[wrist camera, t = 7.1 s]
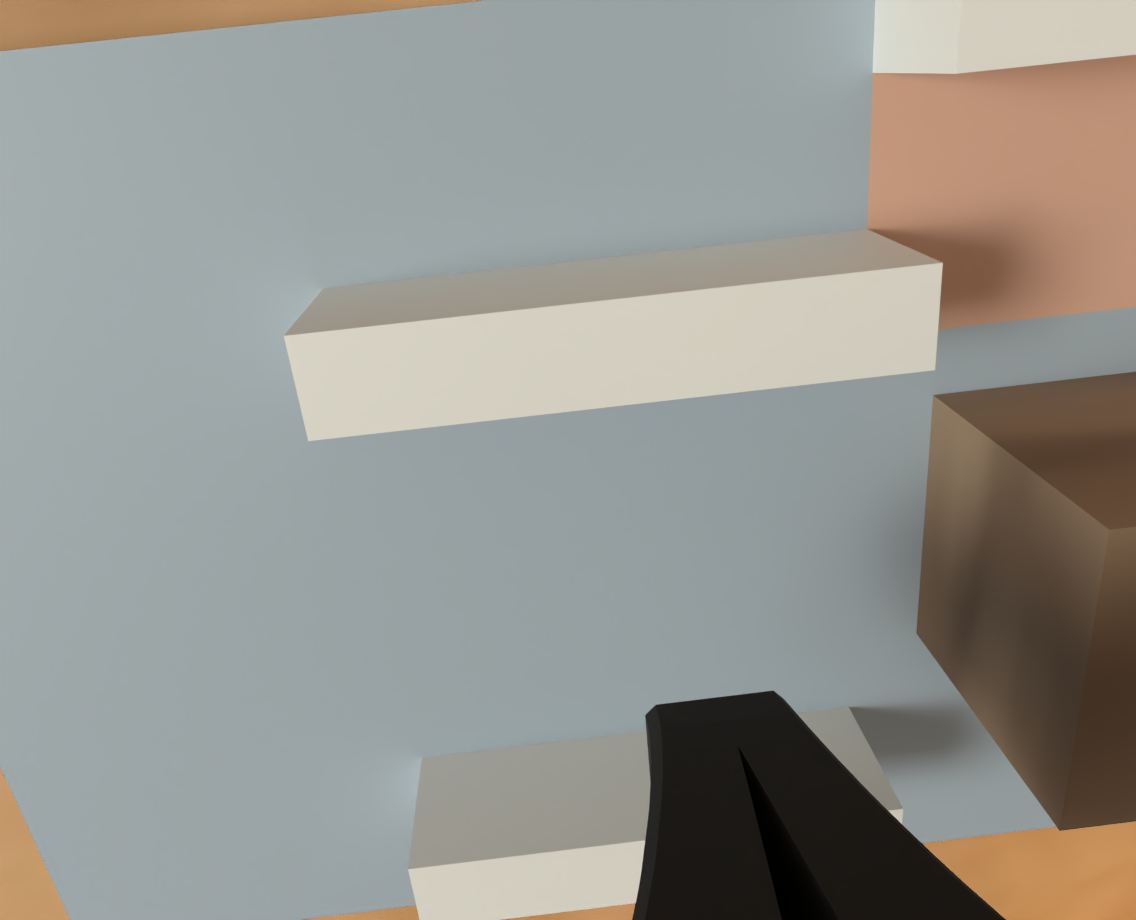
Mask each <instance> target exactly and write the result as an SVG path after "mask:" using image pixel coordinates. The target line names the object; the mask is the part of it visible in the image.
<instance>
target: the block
mask: <svg viewBox="0 0 1136 920" xmlns="http://www.w3.org/2000/svg"><path fill="white" fill-rule="evenodd" d="M916 634H917V635H918V636H919V638H920V639H921V640H922V642H923V643H924V645H925V646H926V647H927V649H928V650H929V651H930V653H931V654H932V656H933V657H934V658H935V660H936V661H937V662H938V664H939V665H940V667H941V668H942V669H943V671H944V672H945V674H946V675H947V676H948V678H949V679H950V680H951V682H952V683H953V685H954V686H955V687H956V689H957V690H958V691H959V693H960V694H961V696H962V697H963V698H964V700H965V701H966V702H967V704H968V705H969V707H970V708H971V709H972V711H973V712H974V713H975V715H976V716H977V718H978V719H979V720H980V722H981V723H982V725H983V726H984V727H985V729H986V730H987V731H988V733H989V734H990V736H991V737H992V738H993V740H994V741H995V742H996V744H997V745H998V747H999V748H1000V749H1001V751H1002V752H1003V753H1004V755H1005V756H1006V758H1007V759H1008V760H1009V762H1010V763H1011V764H1012V766H1013V767H1014V769H1015V770H1016V771H1017V773H1018V774H1019V776H1020V777H1021V778H1022V780H1023V781H1024V782H1025V784H1026V785H1027V787H1028V788H1029V789H1030V791H1031V792H1032V793H1033V795H1034V796H1035V798H1036V799H1037V800H1038V802H1039V803H1040V804H1041V806H1042V807H1043V809H1044V810H1045V811H1046V813H1047V814H1048V815H1049V817H1050V818H1051V820H1052V821H1053V822H1054V824H1055V825H1056V827H1057V828H1058V829H1059V831H1061V830H1069V829H1077V828H1085V827H1093V826H1101V825H1109V824H1117V823H1125V822H1133V821H1136V372H1128V373H1120V374H1111V375H1102V376H1094V377H1085V378H1076V379H1068V380H1059V381H1050V382H1042V383H1033V384H1024V385H1016V386H1007V387H998V388H990V389H981V390H972V391H964V392H955V393H946V394H938V395H933V404H932V418H931V432H930V446H929V460H928V475H927V489H926V503H925V517H924V531H923V545H922V559H921V574H920V588H919V602H918V616H917V630H916Z"/></svg>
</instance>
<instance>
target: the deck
mask: <svg viewBox="0 0 1136 920" xmlns="http://www.w3.org/2000/svg"><path fill="white" fill-rule="evenodd" d="M1128 372H1136V0H486V1H476V2H467V3H457V4H448V5H438V6H429V7H419V8H409V9H400V10H390V11H381V12H371V13H362V14H352V15H343V16H333V17H324V18H314V19H304V20H295V21H285V22H276V23H266V24H257V25H247V26H238V27H228V28H218V29H209V30H199V31H190V32H180V33H171V34H161V35H152V36H142V37H133V38H123V39H113V40H104V41H94V42H85V43H75V44H66V45H56V46H47V47H37V48H27V49H18V50H8V51H0V768H1V770H2V772H3V774H4V776H5V779H6V781H7V783H8V785H9V787H10V789H11V792H12V794H13V796H14V798H15V800H16V803H17V805H18V807H19V809H20V811H21V814H22V816H23V818H24V820H25V822H26V824H27V827H28V829H29V831H30V833H31V835H32V838H33V840H34V842H35V844H36V846H37V849H38V851H39V853H40V855H41V857H42V859H43V862H44V864H45V866H46V868H47V870H48V873H49V875H50V877H51V879H52V881H53V883H54V886H55V888H56V890H57V892H58V894H59V897H60V899H61V901H62V903H63V905H64V908H65V910H66V912H67V914H68V916H69V918H70V920H300V919H309V918H317V917H325V916H333V915H341V914H349V913H357V912H366V911H374V910H382V909H390V908H398V907H406V906H414V905H416V906H417V911H418V915H419V919H420V920H502V919H510V918H518V917H526V916H534V915H543V914H551V913H559V912H567V911H575V910H583V909H591V908H599V907H607V906H615V905H624V904H632V903H636V899H637V894H638V889H639V883H640V877H641V871H642V862H643V854H644V846H645V838H646V830H647V822H648V814H649V802H650V784H651V783H650V770H649V758H648V745H647V732H646V719H645V715H646V714H647V713H648V712H649V711H650V710H651V709H652V708H653V707H654V706H655V705H657V704H666V703H674V702H682V701H691V700H699V699H707V698H715V697H724V696H732V695H740V694H749V693H757V692H765V691H775V692H776V693H777V694H778V695H780V696H781V697H782V698H783V699H784V700H785V701H786V702H787V703H788V704H789V705H790V706H791V708H792V709H793V710H794V711H795V712H796V713H797V714H798V716H799V717H800V718H801V719H802V720H803V721H804V722H805V724H806V725H807V726H808V727H809V728H810V729H811V730H812V731H813V732H814V734H815V735H816V736H817V737H818V738H819V739H820V740H821V741H822V742H823V743H824V745H825V746H826V747H827V748H828V749H829V750H830V751H831V752H832V753H833V754H834V755H835V756H836V758H837V759H838V760H839V761H840V762H841V763H842V764H843V765H844V766H845V767H846V768H847V769H848V770H849V771H850V772H851V773H852V774H853V775H854V777H855V778H856V779H857V780H858V781H859V782H860V783H861V784H862V785H863V786H864V787H865V788H866V789H867V790H868V791H869V792H870V793H871V794H872V795H873V796H874V797H875V798H876V799H877V800H878V801H879V802H880V803H881V804H882V805H883V806H884V807H885V808H886V809H887V810H888V811H889V812H890V813H891V814H892V815H893V816H894V817H895V818H896V819H897V820H898V821H899V822H900V823H901V824H902V825H903V826H904V827H905V828H906V829H907V830H909V831H910V832H911V833H912V834H913V835H914V836H915V837H916V838H917V839H918V840H919V841H920V842H921V843H927V842H935V841H943V840H951V839H959V838H967V837H975V836H984V835H992V834H1000V833H1008V832H1016V831H1024V830H1032V829H1041V828H1049V827H1056V825H1055V824H1054V822H1053V821H1052V820H1051V818H1050V817H1049V815H1048V814H1047V813H1046V811H1045V810H1044V809H1043V807H1042V806H1041V804H1040V803H1039V802H1038V800H1037V799H1036V798H1035V796H1034V795H1033V793H1032V792H1031V791H1030V789H1029V788H1028V787H1027V785H1026V784H1025V782H1024V781H1023V780H1022V778H1021V777H1020V776H1019V774H1018V773H1017V771H1016V770H1015V769H1014V767H1013V766H1012V764H1011V763H1010V762H1009V760H1008V759H1007V758H1006V756H1005V755H1004V753H1003V752H1002V751H1001V749H1000V748H999V747H998V745H997V744H996V742H995V741H994V740H993V738H992V737H991V736H990V734H989V733H988V731H987V730H986V729H985V727H984V726H983V725H982V723H981V722H980V720H979V719H978V718H977V716H976V715H975V713H974V712H973V711H972V709H971V708H970V707H969V705H968V704H967V702H966V701H965V700H964V698H963V697H962V696H961V694H960V693H959V691H958V690H957V689H956V687H955V686H954V685H953V683H952V682H951V680H950V679H949V678H948V676H947V675H946V674H945V672H944V671H943V669H942V668H941V667H940V665H939V664H938V662H937V661H936V660H935V658H934V657H933V656H932V654H931V653H930V651H929V650H928V649H927V647H926V646H925V645H924V643H923V642H922V640H921V639H920V638H919V636H918V635H917V634H916V630H917V616H918V602H919V588H920V574H921V559H922V545H923V531H924V517H925V503H926V489H927V475H928V460H929V446H930V432H931V418H932V404H933V395H938V394H946V393H955V392H964V391H972V390H981V389H990V388H998V387H1007V386H1016V385H1024V384H1033V383H1042V382H1050V381H1059V380H1068V379H1076V378H1085V377H1094V376H1102V375H1111V374H1120V373H1128Z"/></svg>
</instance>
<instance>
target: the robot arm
mask: <svg viewBox="0 0 1136 920" xmlns="http://www.w3.org/2000/svg"><path fill="white" fill-rule="evenodd" d="M645 719H646V732H647V745H648V758H649V770H650V783H651V784H650V802H649V814H648V822H647V830H646V838H645V846H644V854H643V862H642V871H641V877H640V883H639V889H638V894H637V899H636V904H635V909H634V914H633V919H632V920H1005V919H1004V918H1003V917H1002V916H1001V915H1000V914H999V913H998V912H996V911H995V910H994V909H993V908H992V907H991V906H990V905H988V904H987V903H986V902H985V901H984V900H983V899H982V898H980V897H979V896H978V895H977V894H976V893H975V892H974V891H973V890H971V889H970V888H969V887H968V886H967V885H966V884H965V883H964V882H962V881H961V880H960V879H959V878H958V877H957V876H956V875H955V874H954V873H953V872H952V871H951V870H949V869H948V868H947V867H946V866H945V865H944V864H943V863H942V862H941V861H940V860H939V859H938V858H936V857H935V856H934V855H933V854H932V853H931V852H930V851H929V850H928V849H927V848H926V847H925V846H924V845H923V844H922V843H921V842H920V841H919V840H918V839H917V838H916V837H915V836H914V835H913V834H912V833H911V832H910V831H909V830H907V829H906V828H905V827H904V826H903V825H902V824H901V823H900V822H899V821H898V820H897V819H896V818H895V817H894V816H893V815H892V814H891V813H890V812H889V811H888V810H887V809H886V808H885V807H884V806H883V805H882V804H881V803H880V802H879V801H878V800H877V799H876V798H875V797H874V796H873V795H872V794H871V793H870V792H869V791H868V790H867V789H866V788H865V787H864V786H863V785H862V784H861V783H860V782H859V781H858V780H857V779H856V778H855V777H854V775H853V774H852V773H851V772H850V771H849V770H848V769H847V768H846V767H845V766H844V765H843V764H842V763H841V762H840V761H839V760H838V759H837V758H836V756H835V755H834V754H833V753H832V752H831V751H830V750H829V749H828V748H827V747H826V746H825V745H824V743H823V742H822V741H821V740H820V739H819V738H818V737H817V736H816V735H815V734H814V732H813V731H812V730H811V729H810V728H809V727H808V726H807V725H806V724H805V722H804V721H803V720H802V719H801V718H800V717H799V716H798V714H797V713H796V712H795V711H794V710H793V709H792V708H791V706H790V705H789V704H788V703H787V702H786V701H785V700H784V699H783V698H782V697H781V696H780V695H778V694H777V693H776V692H775V691H765V692H757V693H749V694H740V695H732V696H724V697H715V698H707V699H699V700H691V701H682V702H674V703H666V704H657V705H655V706H654V707H653V708H652V709H651V710H650V711H649V712H648V713H647V714H646V715H645Z"/></svg>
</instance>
